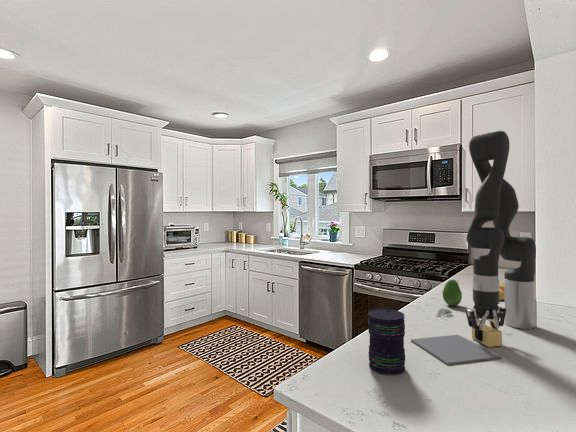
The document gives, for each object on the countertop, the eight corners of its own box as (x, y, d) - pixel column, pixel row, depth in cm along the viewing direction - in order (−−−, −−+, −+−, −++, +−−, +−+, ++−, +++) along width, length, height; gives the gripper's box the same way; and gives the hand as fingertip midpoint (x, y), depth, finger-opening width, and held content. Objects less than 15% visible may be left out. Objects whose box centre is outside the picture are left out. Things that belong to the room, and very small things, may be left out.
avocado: (462, 304, 153) (462, 278, 153) (461, 309, 146) (460, 282, 146) (443, 302, 157) (443, 277, 157) (441, 306, 150) (441, 280, 150)
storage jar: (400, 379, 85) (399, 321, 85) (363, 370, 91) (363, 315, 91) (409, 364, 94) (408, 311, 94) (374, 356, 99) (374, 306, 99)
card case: (484, 336, 112) (484, 323, 112) (502, 345, 105) (501, 331, 105) (471, 337, 112) (471, 324, 112) (488, 346, 104) (488, 332, 104)
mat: (457, 336, 114) (457, 334, 114) (501, 358, 97) (501, 356, 97) (410, 341, 110) (410, 339, 110) (447, 365, 93) (447, 363, 93)
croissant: (502, 309, 156) (511, 296, 154) (481, 296, 163) (490, 283, 160) (512, 299, 171) (521, 287, 169) (493, 288, 178) (501, 276, 175)
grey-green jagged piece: (440, 329, 126) (440, 326, 126) (421, 323, 131) (421, 321, 131) (459, 314, 140) (459, 311, 140) (440, 309, 145) (440, 307, 145)
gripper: (494, 284, 113) (495, 333, 114) (458, 287, 110) (459, 337, 111) (514, 289, 106) (514, 342, 106) (475, 292, 103) (476, 346, 103)
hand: (486, 339), depth 108 cm, fingers closed on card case, 5 cm apart
